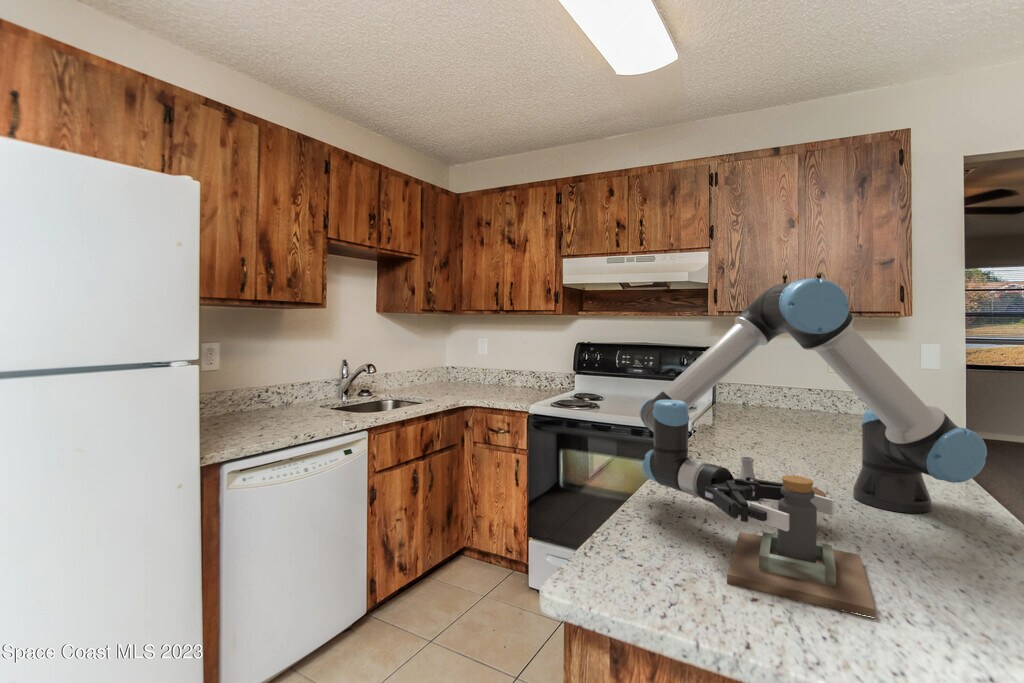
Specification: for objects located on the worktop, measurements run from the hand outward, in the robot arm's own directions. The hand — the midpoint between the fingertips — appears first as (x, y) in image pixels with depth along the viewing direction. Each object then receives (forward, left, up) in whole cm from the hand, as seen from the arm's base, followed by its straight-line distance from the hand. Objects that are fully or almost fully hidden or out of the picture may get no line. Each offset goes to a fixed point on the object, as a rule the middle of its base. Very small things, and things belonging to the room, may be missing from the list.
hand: (811, 515), depth 81 cm
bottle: (+2, -1, -10) cm, 10 cm away
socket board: (+2, -1, -11) cm, 11 cm away
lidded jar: (+2, -25, -11) cm, 28 cm away
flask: (+13, -40, -11) cm, 44 cm away
